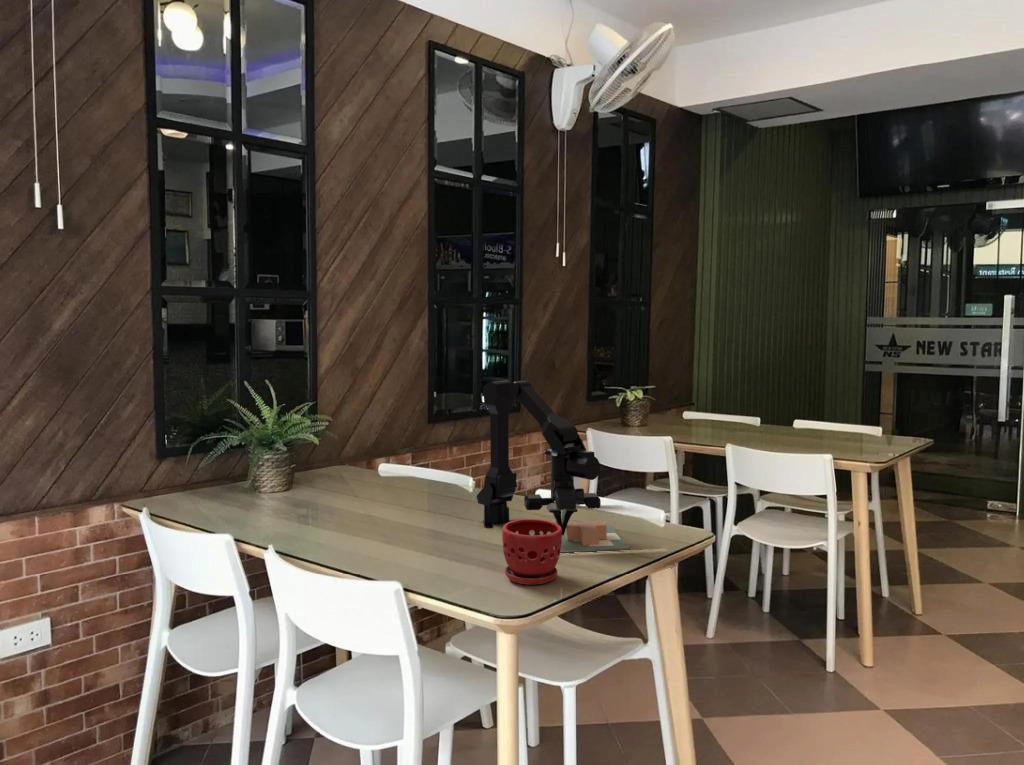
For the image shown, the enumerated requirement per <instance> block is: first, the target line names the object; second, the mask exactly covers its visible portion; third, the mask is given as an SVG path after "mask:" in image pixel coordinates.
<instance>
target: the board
mask: <svg viewBox="0 0 1024 765" xmlns="http://www.w3.org/2000/svg"><path fill="white" fill-rule="evenodd" d="M604 523H605V524H606V525H607V539H599V545H582V543H581V542H580V540H567V538H566V537H565V533H564V535H562V544H561V551H560V553H569V554H575V553H574V552H593V553H598V552H597V551H617V550H618V551H617V552H620V551H619V550H620V549H622V550H630V551H631V549H630V548H631V547H630V545H628V543H627V542H626V541H625V540H624V538H623V537H622V536H621V535H620V534H619V533H618V532H617V531H616V529H615V527H613V526H612V525H611V524H610V523H609V522H604ZM529 534H530V535H534V534H535V531H534V530H530V532H529ZM547 534H551V532H549V531H548V532H547ZM540 535H543V532H542V531H540ZM554 548H555V546H554ZM554 548H553V549H554Z"/></svg>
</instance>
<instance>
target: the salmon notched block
mask: <svg viewBox="0 0 1024 765" xmlns="http://www.w3.org/2000/svg"><path fill="white" fill-rule="evenodd" d="M605 523H606V522H604V520H603V521H601V520H600V521H574V522H572V521H571V522H569V521H568V524H567V527H566V530H565V537H566V538H567V540H580V542H581V543H582V545H599V539H607V525H606V524H605Z"/></svg>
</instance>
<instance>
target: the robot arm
mask: <svg viewBox="0 0 1024 765" xmlns="http://www.w3.org/2000/svg"><path fill="white" fill-rule="evenodd" d="M482 392H483V402H484V406H485V407H486V410H487V411H488V413H489V420H490V421H489V424H490V425H489V426H490V428H489V429H490V430H489V431H490V433H489V434H490V435H489V437H490V439H489V440H490V441H489V442H490V443H489V445H490V450H489V452H490V465H489V466H490V467H489V468H488V470H487V472H486V474H485V476H484V483H483V487H482V488H481V490H480V491H479V492H478V493H477V495H476V500H477V503H478V504H480V505H483V512H482V513H483V519H482V524H483V527H484V528H493V527H494V525H502V524H503V525H504V524H506V523H508V522H510V507H509V506H508V503H507V502H512V501H513V497H514V494H515V492H516V488H517V487H518V484H517V477H518V476H517V473H516V472H513V470H512V468H510V462H509V460H510V456H509V455H510V452H509V451H510V450H509V448H510V444H509V442H510V441H509V440H510V438H509V437H510V436H509V434H510V433H509V432H510V430H509V429H510V426H509V423H510V422H509V421H510V419H509V418H510V412H511V410H512V408H513V406H514V405H515V399H516V400H518V402H519V403H520V404H521V405H522V406H523V408H524V409H525V410H526V411H527V412H528V413H529V414H530V416H531V417H532V418H533V419H534V420H535V422H536V423H538V425H539V426H540V429H541V433H542V436H543V439H544V440H545V441H546V443H547V444H548V446H549V448H548V449H546V451H544V455H546V456H550V497H542V496H541V494H539V493H537V494H534V493H533V494H526V495H525V496H524V498H523V501H524V502H523V505H524V508H525V510H526V511H540V510H541V509H542V508H543V507H545V506H546V509H547V511H548V512H549V513H552V514H553V517H554V518H555V521H556V522H555V523H556V524H558V525H560V526H561V528H562V535H564V533H565V530H566V527H567V524H568V523H569V521H570V519H571V517H572V515H573V514H574V513H578V507H576V506H577V505H580V506H581V505H585V506H586V508H588V509H601V498H600V496H598V494H597V493H596V492H585V490H584V488H581V489H575V488H574V477H578V478H582V479H583V480H588V481H593V480H595V479H597V478H598V476H599V475H600V472H601V463H600V461H599V459H598V458H597V457H596V456H595V451H592V450H591V451H587V448H586V445H585V444H584V443H583V440H582V438H581V437H580V435H579V433H578V432H579V431H578V429H577V426H575V425H574V424H573V423H572V422H570V421H569V420H568V419H567V418H564V417H562V416H560V415H558V414H556V412H554V410H553V409H552V408H551V407H550V406H549V404H548V403H547V402H546V401H545V400H544V399H543V398H542V397H541V395H540V394H538V392H537V391H536V390H535V389H534V388H533V387H532V384H531V383H530V381H528V380H519V381H513V382H512V381H511V380H508V379H507V380H496V381H489V382H487V383H486V384H485V385H484V387H483V390H482Z"/></svg>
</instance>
